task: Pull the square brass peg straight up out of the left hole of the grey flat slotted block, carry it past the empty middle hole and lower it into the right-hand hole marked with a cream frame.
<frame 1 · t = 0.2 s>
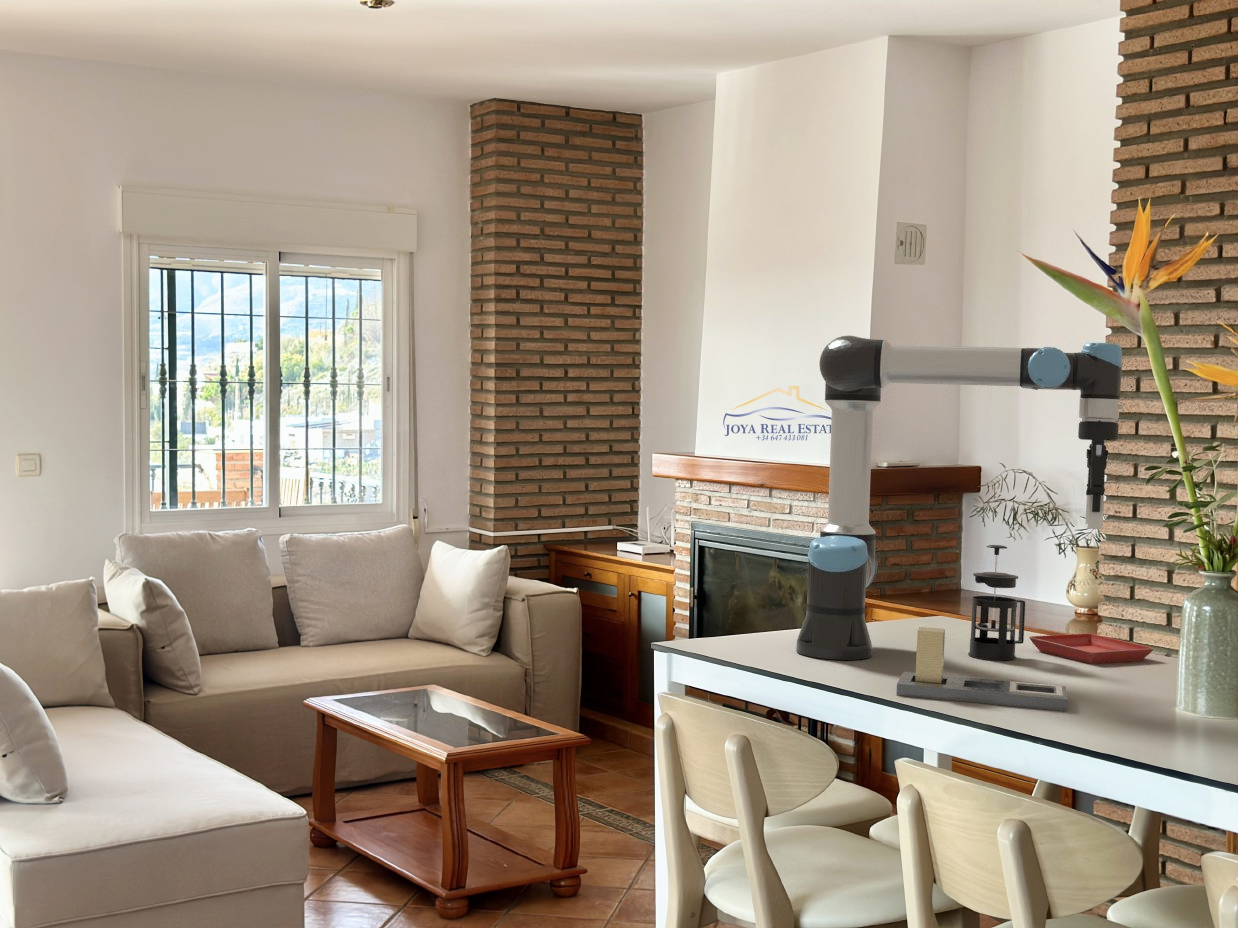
hand: (1093, 526, 266), 28 cm above the table, tool pointing down, fingers open, 13 cm apart
french press: (994, 657, 272), on the table
red serving tray: (1089, 658, 278), on the table
peg: (928, 691, 234), resting in grey flat slotted block
grey flat slotted block: (981, 696, 232), on the table
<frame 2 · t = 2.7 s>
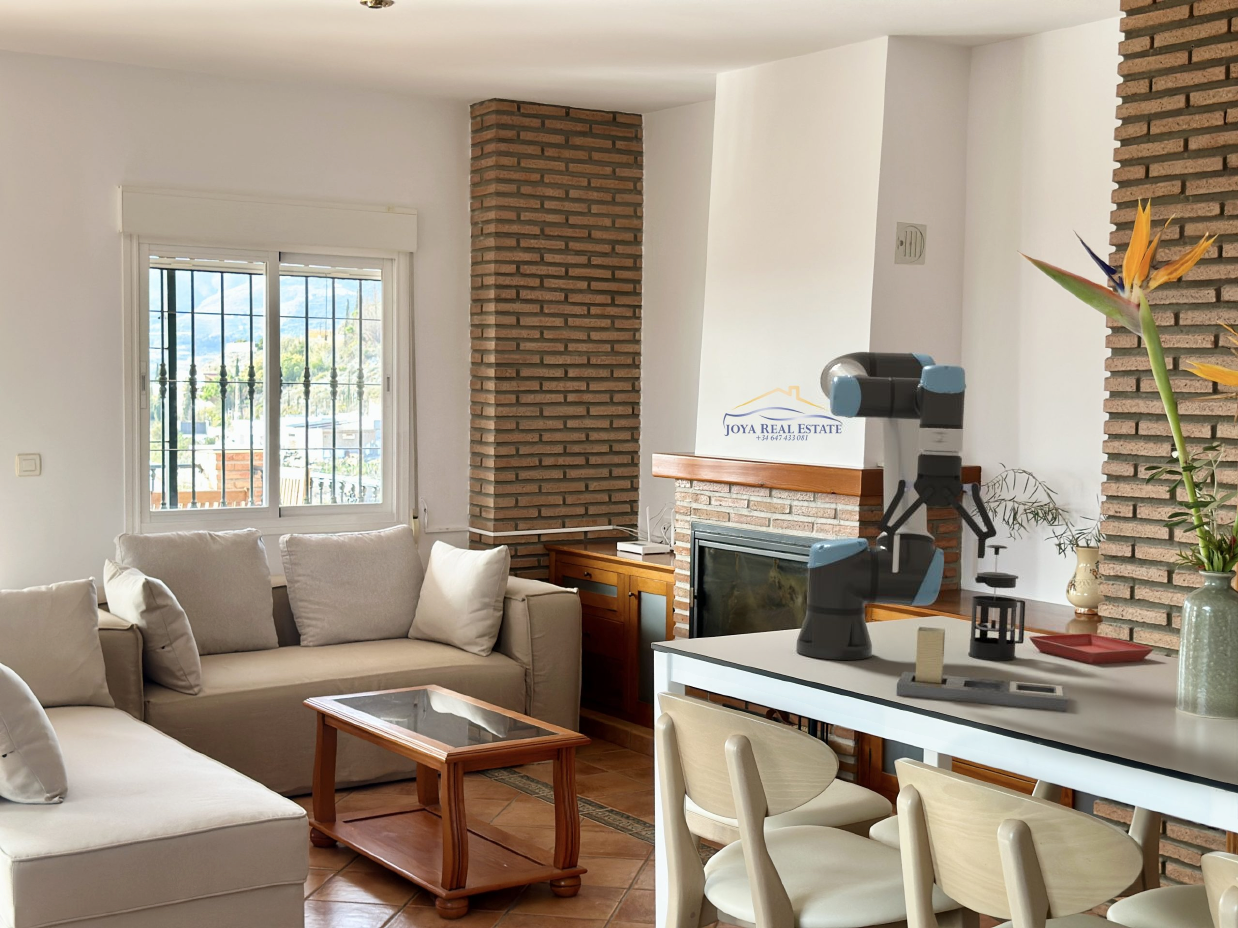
hand: (934, 574, 233), 21 cm above the table, tool pointing down, fingers open, 13 cm apart
nothing on the table moved.
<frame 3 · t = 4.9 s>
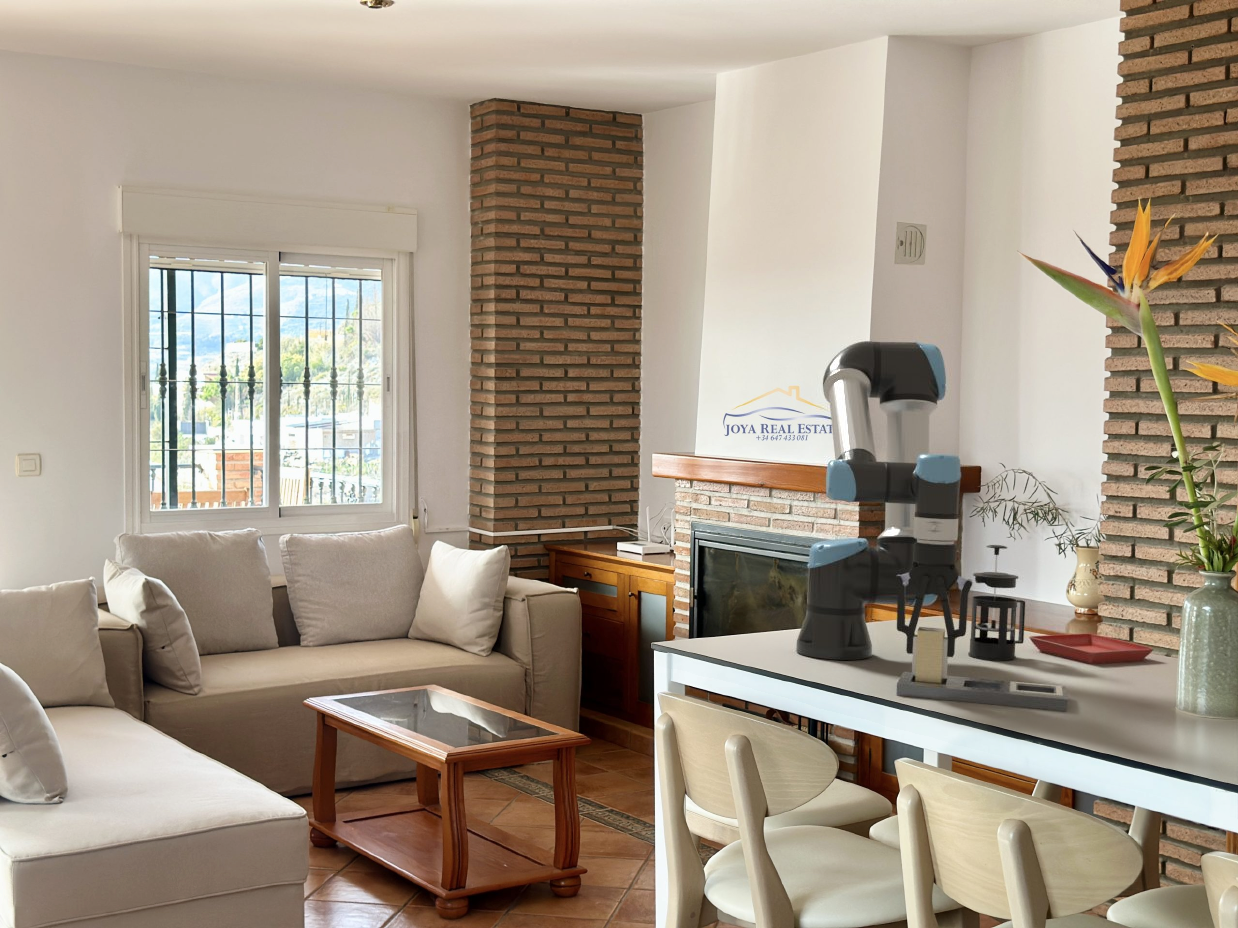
hand: (929, 673, 234), 3 cm above the table, tool pointing down, fingers closed on peg, 4 cm apart
peg: (928, 691, 234), resting in grey flat slotted block, touching gripper
everything else where it was.
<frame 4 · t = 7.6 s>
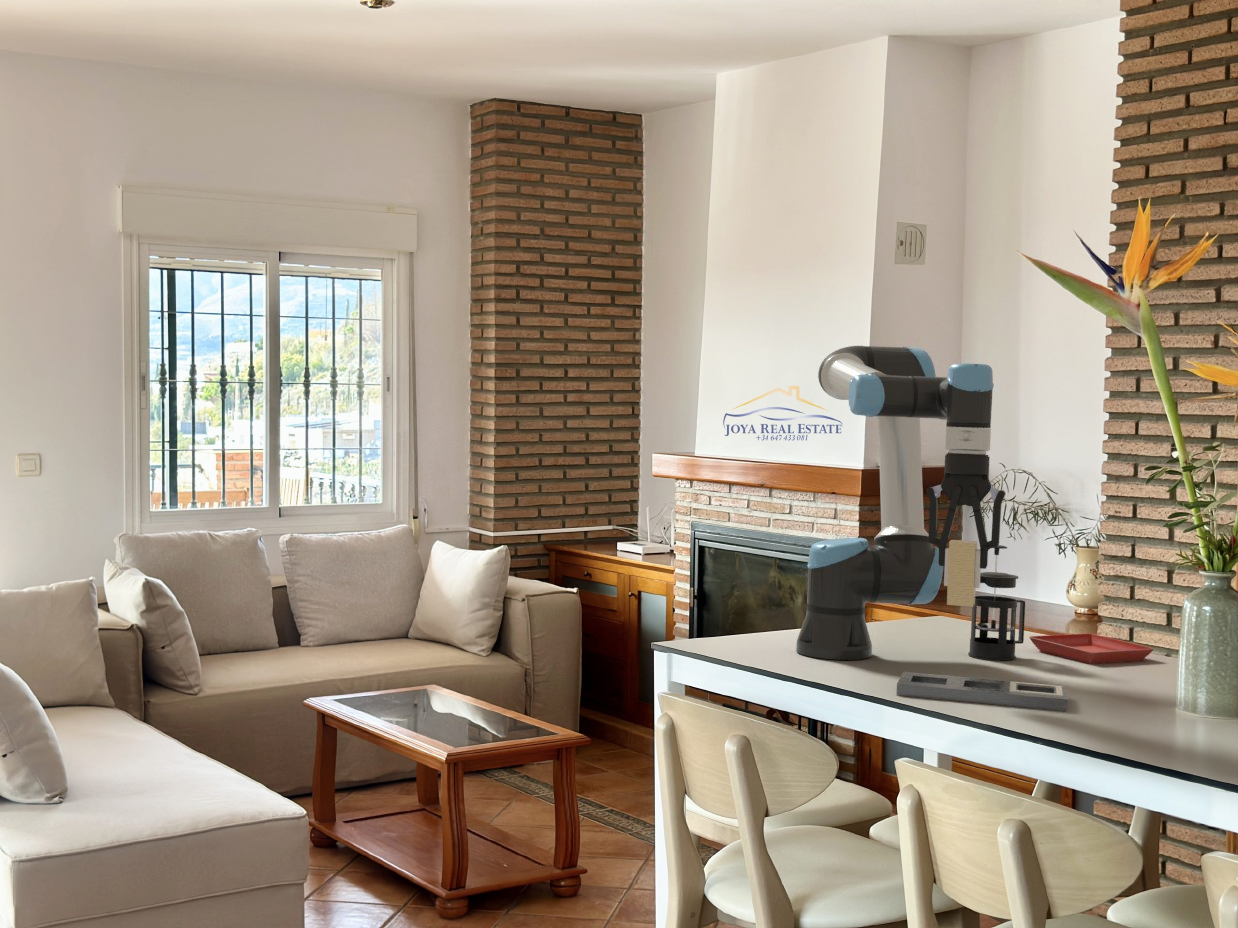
hand: (961, 585, 232), 19 cm above the table, tool pointing down, fingers closed on peg, 4 cm apart
peg: (960, 604, 232), point 16 cm above the table, touching gripper
everything else where it was.
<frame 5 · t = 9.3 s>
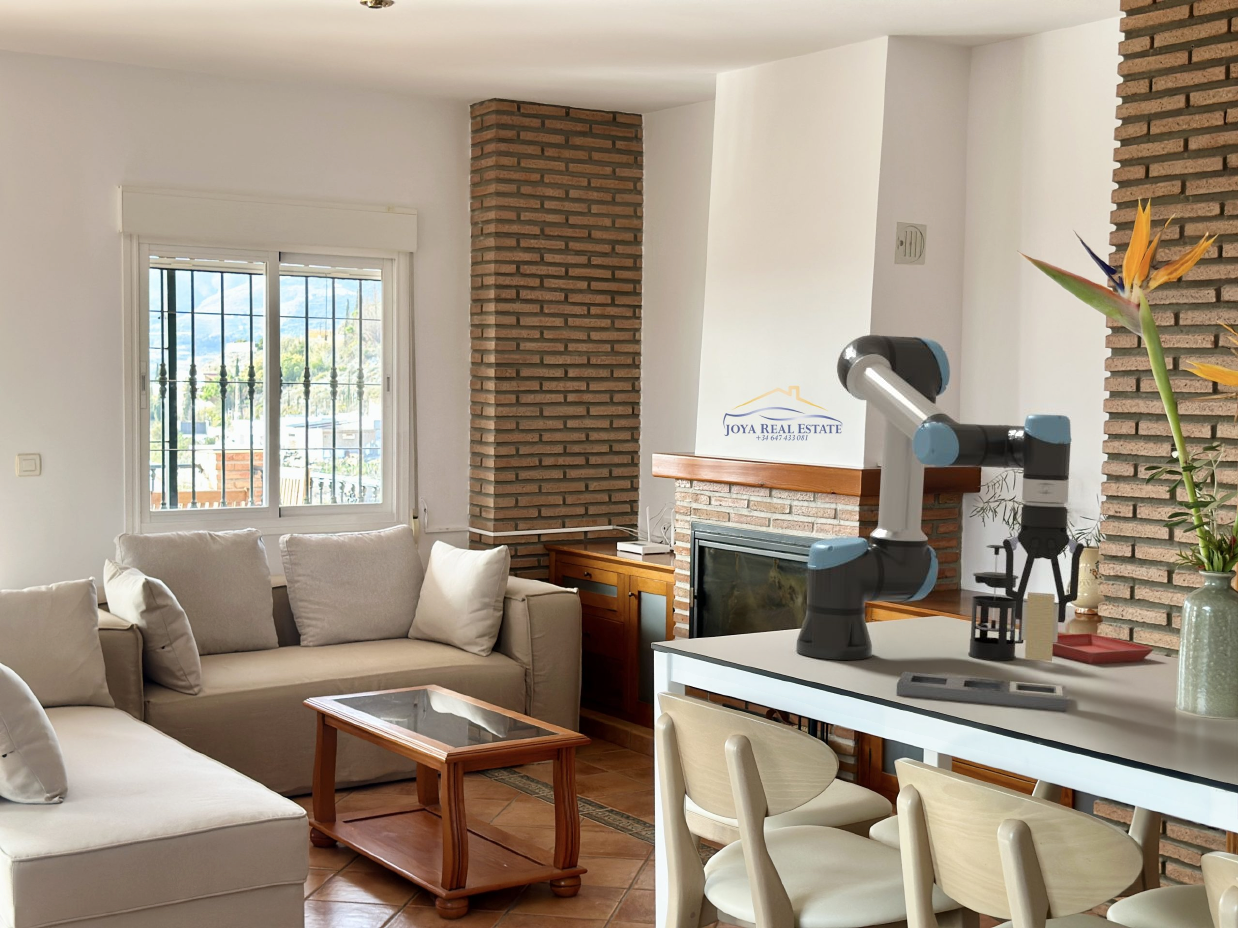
hand: (1039, 639, 228), 11 cm above the table, tool pointing down, fingers closed on peg, 4 cm apart
peg: (1038, 658, 228), point 8 cm above the table, touching gripper
everything else where it was.
when the fingers open (4 cm above the table, at t = 10.6 s): peg stays where it is, resting in grey flat slotted block.
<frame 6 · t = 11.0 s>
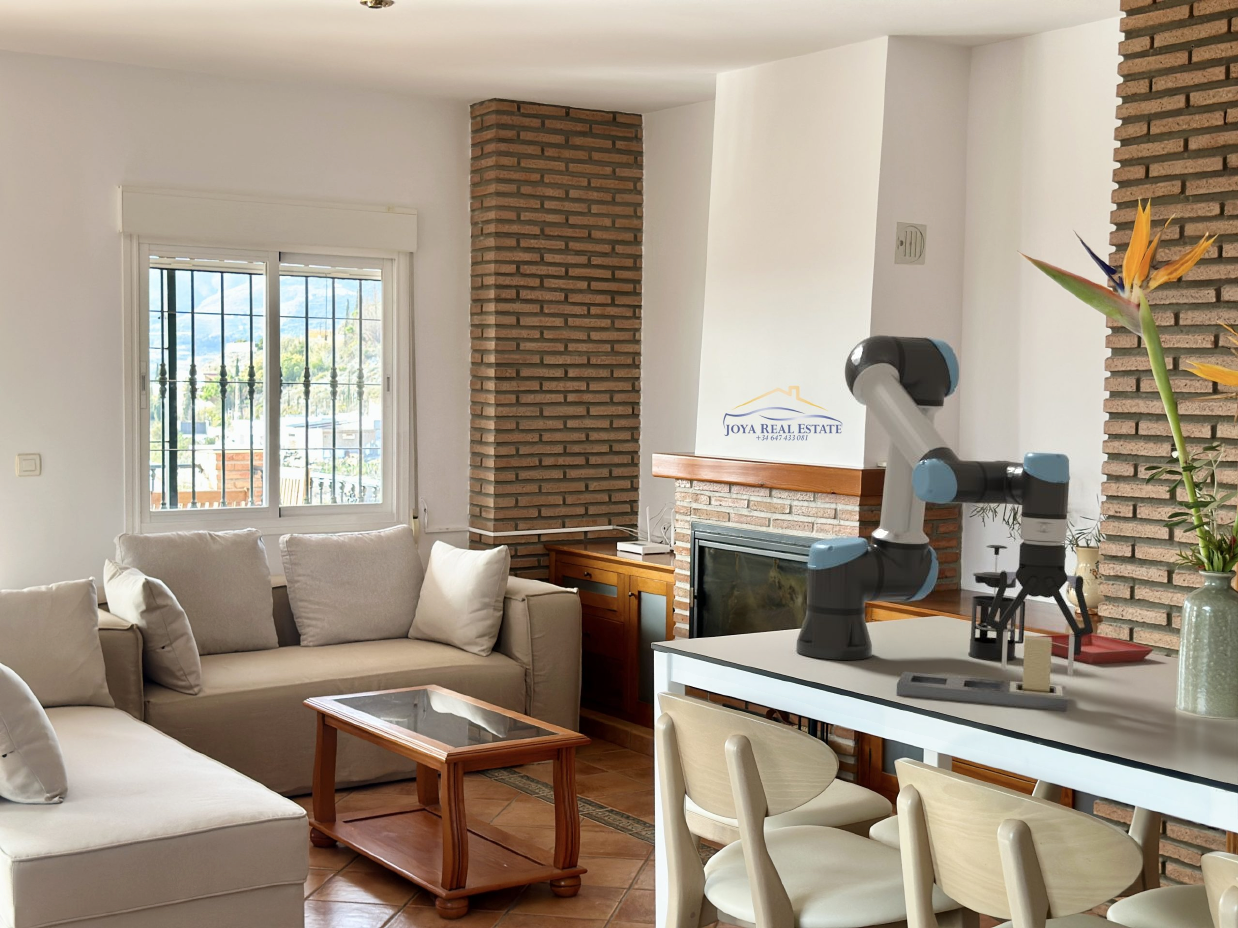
hand: (1036, 670, 229), 5 cm above the table, tool pointing down, fingers open, 10 cm apart
peg: (1035, 701, 229), resting in grey flat slotted block
everything else where it was.
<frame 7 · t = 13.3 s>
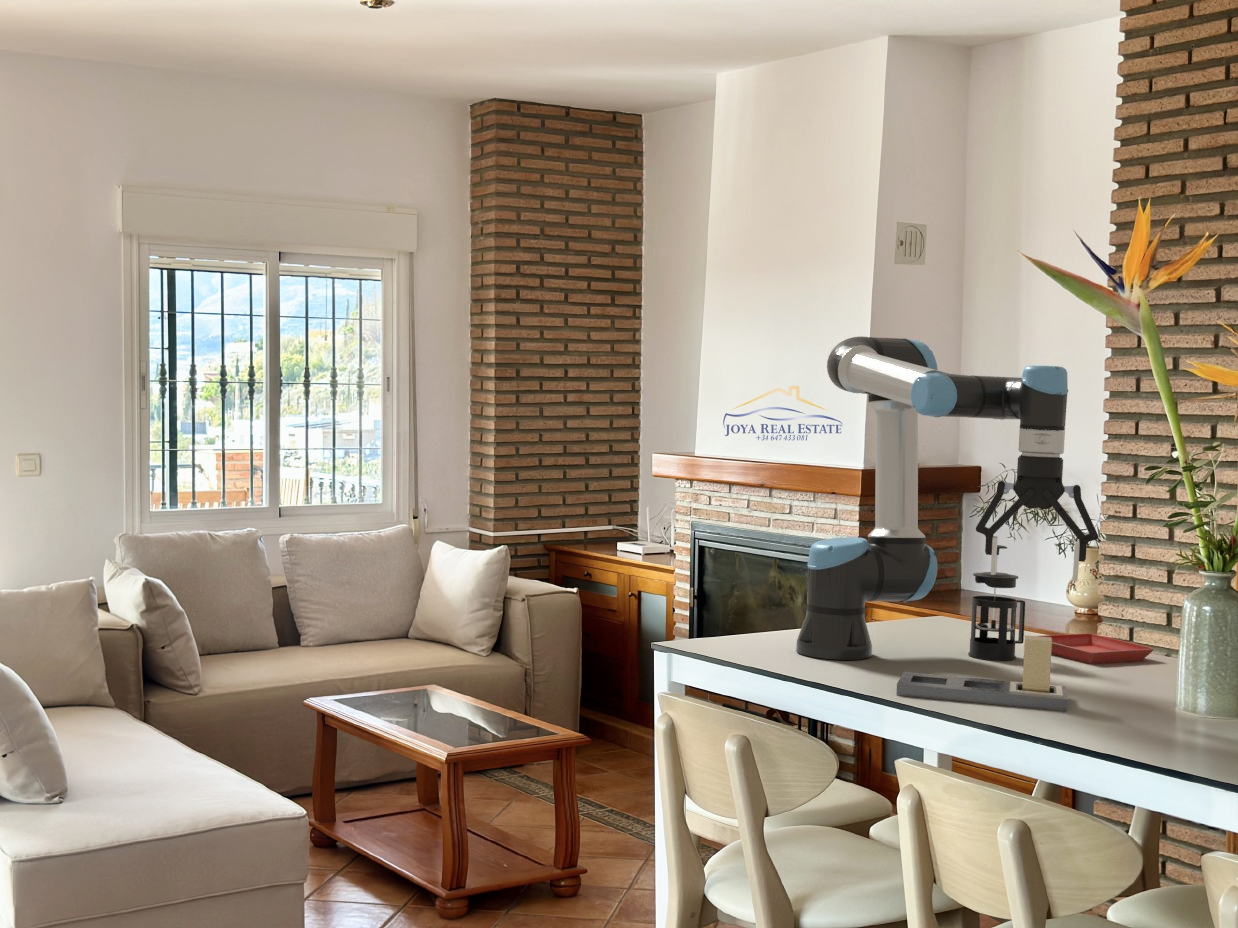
hand: (1033, 577, 231), 21 cm above the table, tool pointing down, fingers open, 13 cm apart
nothing on the table moved.
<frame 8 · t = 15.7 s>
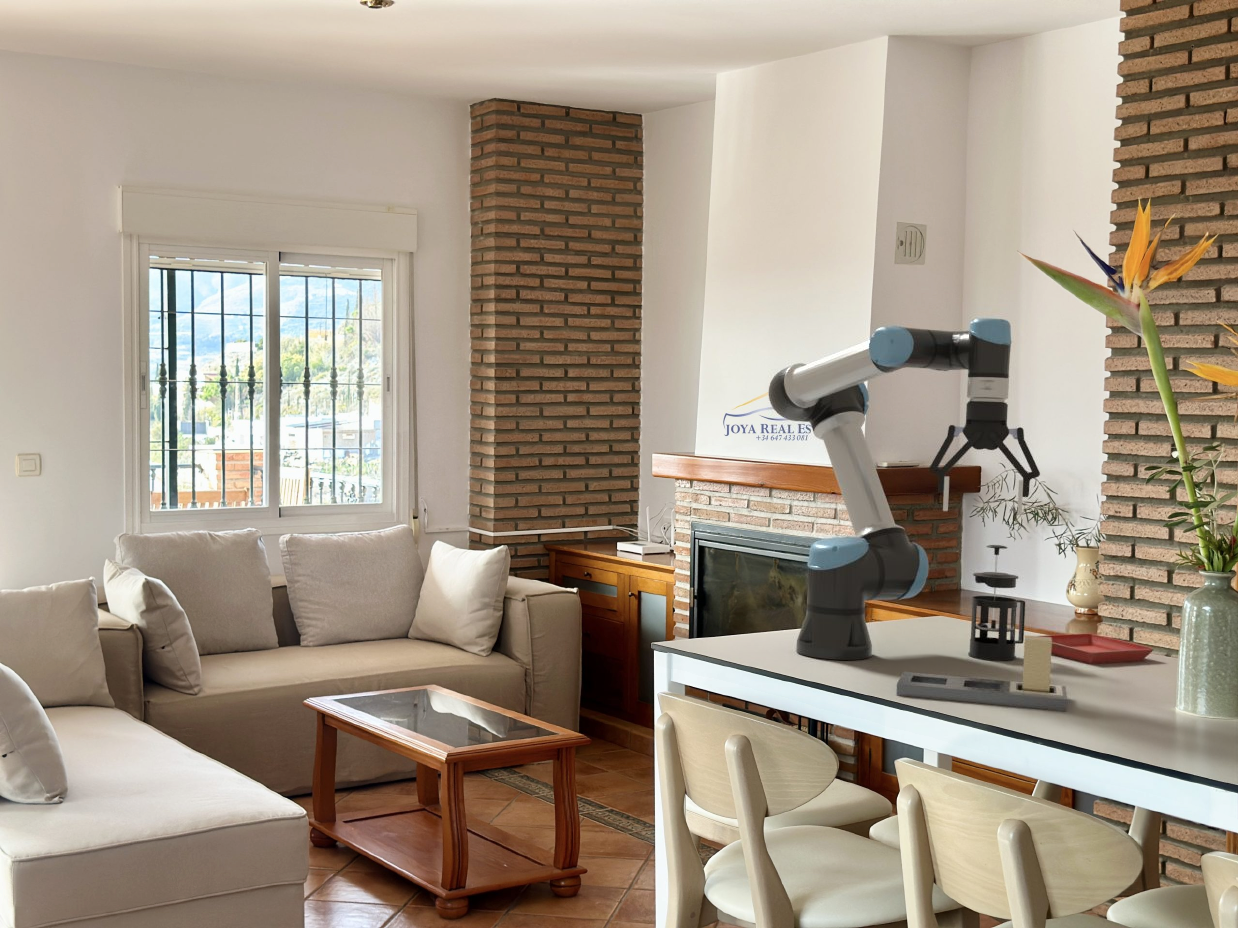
hand: (982, 512, 252), 31 cm above the table, tool pointing down, fingers open, 13 cm apart
nothing on the table moved.
at the end: peg 0.0 cm from the target spot on the grey flat slotted block, point 0.0 cm above the grey flat slotted block's base; peg tilted 0°; the gripper is holding nothing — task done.
